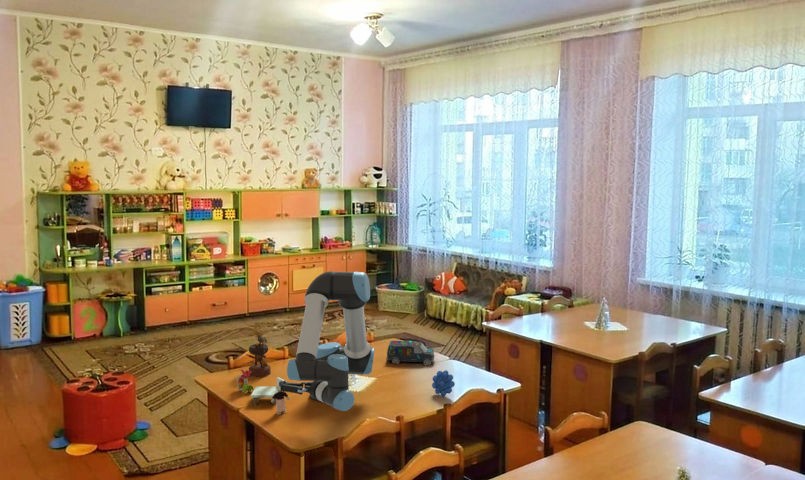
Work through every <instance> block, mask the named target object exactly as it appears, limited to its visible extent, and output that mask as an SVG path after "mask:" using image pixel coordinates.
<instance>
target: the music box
mask: <svg viewBox="0 0 805 480" xmlns="http://www.w3.org/2000/svg"><path fill="white" fill-rule="evenodd" d="M257 342H258V343H256V342H255V343H254V344H251V345H250V346H249V347H248V352H249V354H246V356H248V357H249V358H251V359H253V360H254V364H252V365H250V366H249V367H248V371H252V372H251V373H250V375H249V376H250V377H253V378H265V377H268V376H270V375H271V366H270V365H269V364H268V363H267V362H266V360H265V359H266V358H267V355H266V354H267V353H268V352H269V346H268V345H267V344H269V342H268V340H267V338H265V336H263V334H260V333H259V334H258V335H257Z"/></svg>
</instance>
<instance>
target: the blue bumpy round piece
mask: <svg viewBox="0 0 805 480" xmlns="http://www.w3.org/2000/svg"><path fill="white" fill-rule="evenodd" d="M453 379H454V375H453V374H449V371H448V370H443V371H442V370H438V371H437V372H436V374H435V375H433V377H432V384H431V388H433V390H434V389H435V390H434V393H435V394H437V395H440V396H441V397H445V396H447V394H451V393H452V392H453V388H454V387H455V384H456V383H455V382H454V380H453Z"/></svg>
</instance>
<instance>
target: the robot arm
mask: <svg viewBox="0 0 805 480" xmlns="http://www.w3.org/2000/svg"><path fill="white" fill-rule="evenodd" d="M370 285H371V284H370V279H369V276H368V274H367V273H366V272H363V271H361V272H360V271H334V270H333V271H332V270H331V271H324V272H322V273H320V274H319V275H318V276H316V277H315V278H314V279H313V280H312V282H311V283H310V284H309V285H308V287H307V289H306V291H305V294H304V299H303V301H304V302H305V308H304V314H303V318H302V322H301V323H302V324H301V328H300V334H299V339H298V344H297V350H296V354H295V358H292V359H289V360H288V362H287V365H286V376H287V378H288V380H291V381H297V382H288V381H287V380H285V379H283V378H281V377H276V385H279V386H280V391H284V392H286V393H291V394H297V395H303V393H307V394H309V395H310V396H309V397H310V398H311V399H312V400H315V401H318V402H322V403H324V404H326V405H327V406H329V407H331V408H334V409H335V410H338V411H341V412H346V411H348V410H351V408H353V405H354V404H355V395H354V393H353V392H352V391H350V389H349V388H350V387H349V375H361V376H363V375H370V374H371V373H372V372H373V365H374V364H373V363H374V359H375V357H374V356H375V348H374V347H371V345H370V343H369V342H368V341H367V331H366V319H365V317H366V316H365V306H366V304H367V302H368V301H369V300H370V298H371V286H370ZM330 301H337V302H338V305H339V306H340V308H342V310H343V311H342V312H343V320H344V321H343V322H344V331H345V341H346V343H345V345H344V346H342V345H341V343H339V342H333V341H332V342H326V343H322V344H320V338H321V333H322V327H323V321H324V317H325V309H326V307H327V306H329V302H330ZM305 381H306V382H305ZM307 381H308V382H307ZM299 382H300V383H299Z"/></svg>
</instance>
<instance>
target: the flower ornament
mask: <svg viewBox="0 0 805 480" xmlns="http://www.w3.org/2000/svg"><path fill="white" fill-rule="evenodd" d="M241 372H242V374H240V375H239V376H237V379H236V386H237V389H238V392H242V393H243V394H244V395H246V393H247V392H251V391H252V392H253V391H254V389H255V388H254V386H253V385H252V384H249V381H248V378H250V377H251V376H249V375H250V373H251V372H252V371H249V369H247V370H245V369H243V368H241Z"/></svg>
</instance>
